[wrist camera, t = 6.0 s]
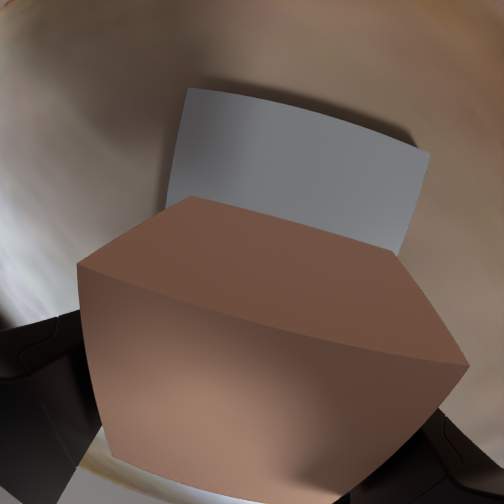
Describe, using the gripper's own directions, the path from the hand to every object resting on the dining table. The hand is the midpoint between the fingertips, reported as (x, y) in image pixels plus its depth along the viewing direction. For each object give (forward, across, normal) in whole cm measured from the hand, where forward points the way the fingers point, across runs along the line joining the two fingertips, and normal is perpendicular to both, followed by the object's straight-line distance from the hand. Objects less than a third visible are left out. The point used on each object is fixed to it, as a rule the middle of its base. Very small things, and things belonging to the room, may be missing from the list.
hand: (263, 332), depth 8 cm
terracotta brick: (+1, 0, 0) cm, 1 cm away
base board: (+11, 0, 0) cm, 11 cm away
